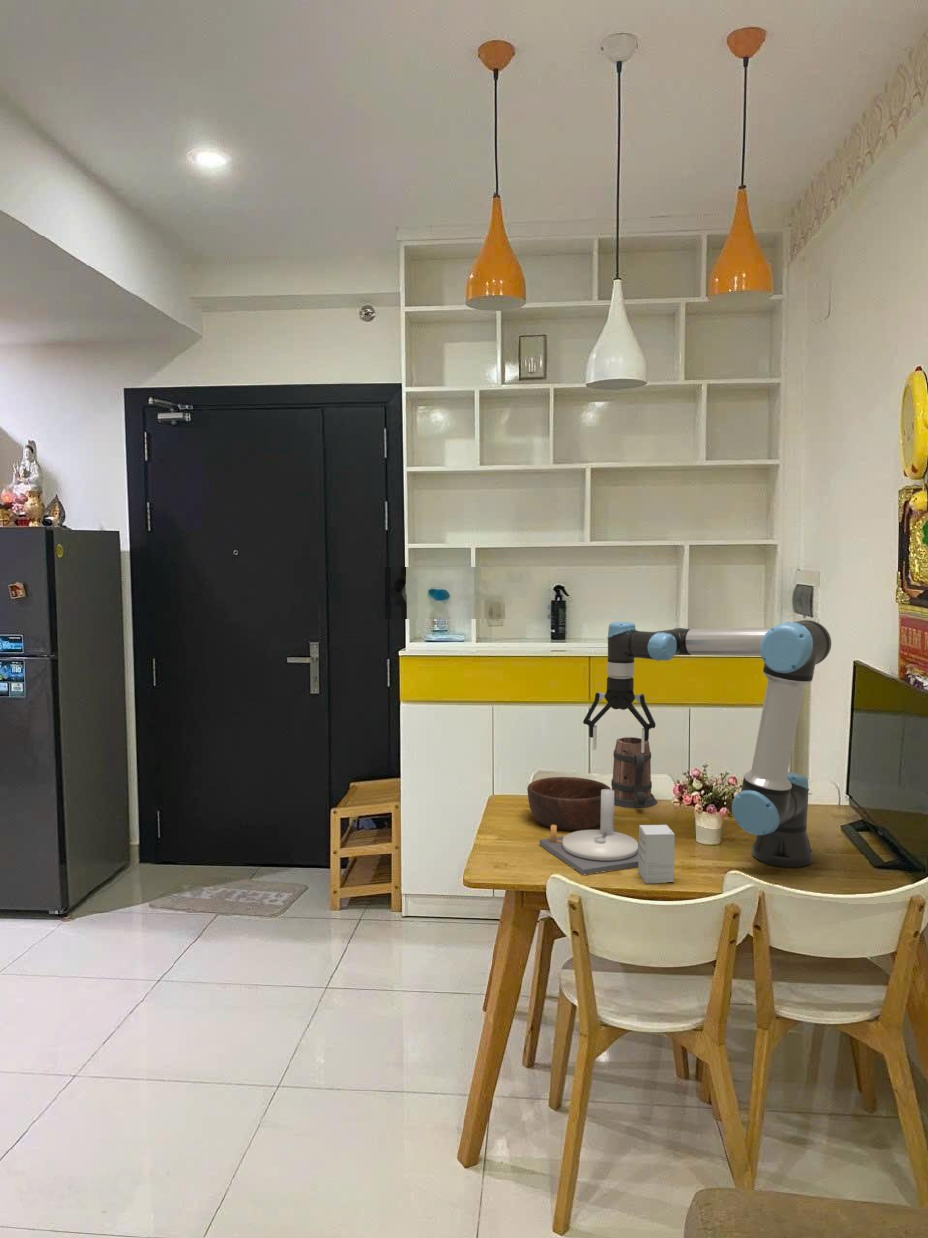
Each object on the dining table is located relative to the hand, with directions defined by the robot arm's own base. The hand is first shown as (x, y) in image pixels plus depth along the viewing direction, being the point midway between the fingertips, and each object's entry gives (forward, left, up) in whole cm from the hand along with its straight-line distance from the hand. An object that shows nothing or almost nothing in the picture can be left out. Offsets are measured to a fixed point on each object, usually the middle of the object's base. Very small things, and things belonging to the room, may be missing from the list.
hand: (618, 750), depth 253 cm
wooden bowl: (+15, +7, -25) cm, 30 cm away
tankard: (+23, -21, -24) cm, 39 cm away
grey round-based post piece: (-13, +13, -22) cm, 29 cm away
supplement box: (-33, +9, -24) cm, 42 cm away
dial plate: (-13, +13, -24) cm, 31 cm away
